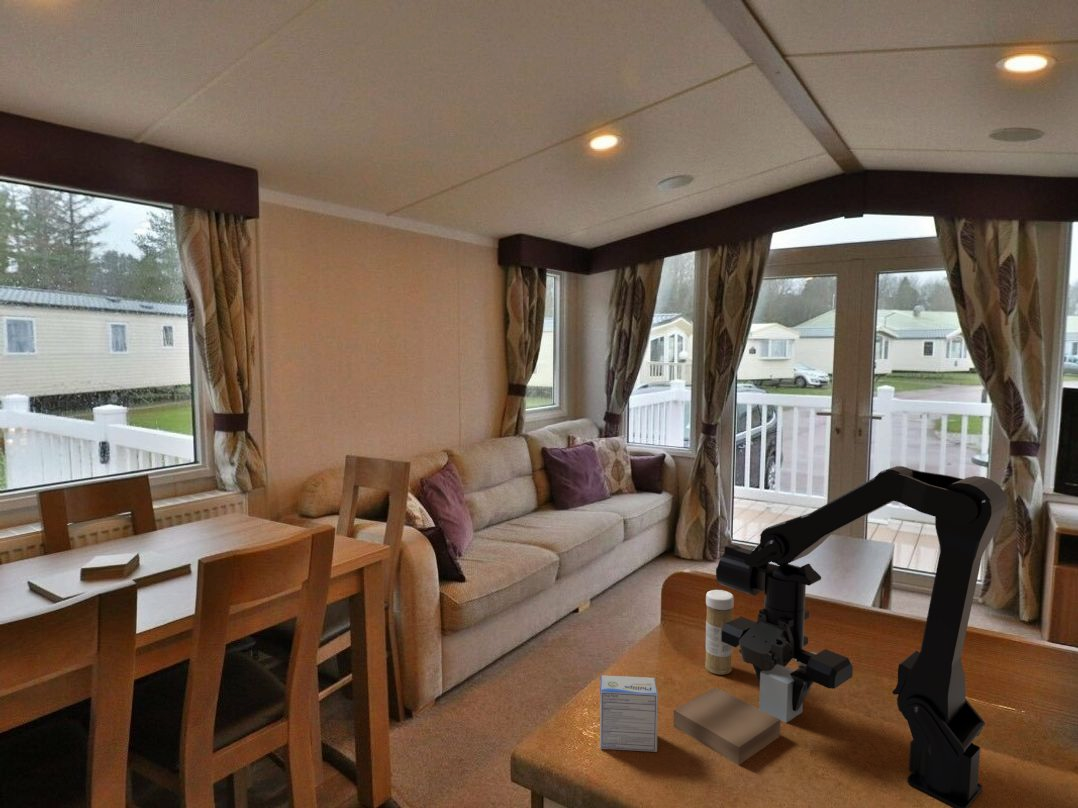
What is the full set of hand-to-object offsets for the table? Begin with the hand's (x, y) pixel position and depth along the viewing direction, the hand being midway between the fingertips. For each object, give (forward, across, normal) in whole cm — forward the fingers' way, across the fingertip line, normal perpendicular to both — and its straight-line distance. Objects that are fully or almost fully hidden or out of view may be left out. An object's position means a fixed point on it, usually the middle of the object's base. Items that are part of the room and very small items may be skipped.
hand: (780, 703), depth 96 cm
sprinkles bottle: (+1, -14, +3) cm, 14 cm away
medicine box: (+2, -9, -24) cm, 26 cm away
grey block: (+1, 0, 0) cm, 1 cm away
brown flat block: (+2, -2, -11) cm, 11 cm away
